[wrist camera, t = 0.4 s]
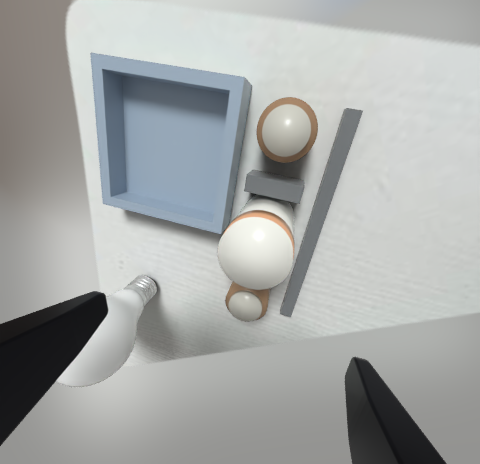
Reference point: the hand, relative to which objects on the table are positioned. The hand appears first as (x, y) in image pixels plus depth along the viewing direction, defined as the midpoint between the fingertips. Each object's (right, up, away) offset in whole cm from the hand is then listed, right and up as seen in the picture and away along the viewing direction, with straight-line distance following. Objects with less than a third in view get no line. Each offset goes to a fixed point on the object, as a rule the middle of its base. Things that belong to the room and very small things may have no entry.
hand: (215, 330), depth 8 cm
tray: (-4, +10, +11) cm, 16 cm away
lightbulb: (-9, -2, +18) cm, 20 cm away
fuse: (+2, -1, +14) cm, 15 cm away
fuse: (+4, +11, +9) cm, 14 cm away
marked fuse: (+3, +5, +12) cm, 13 cm away
